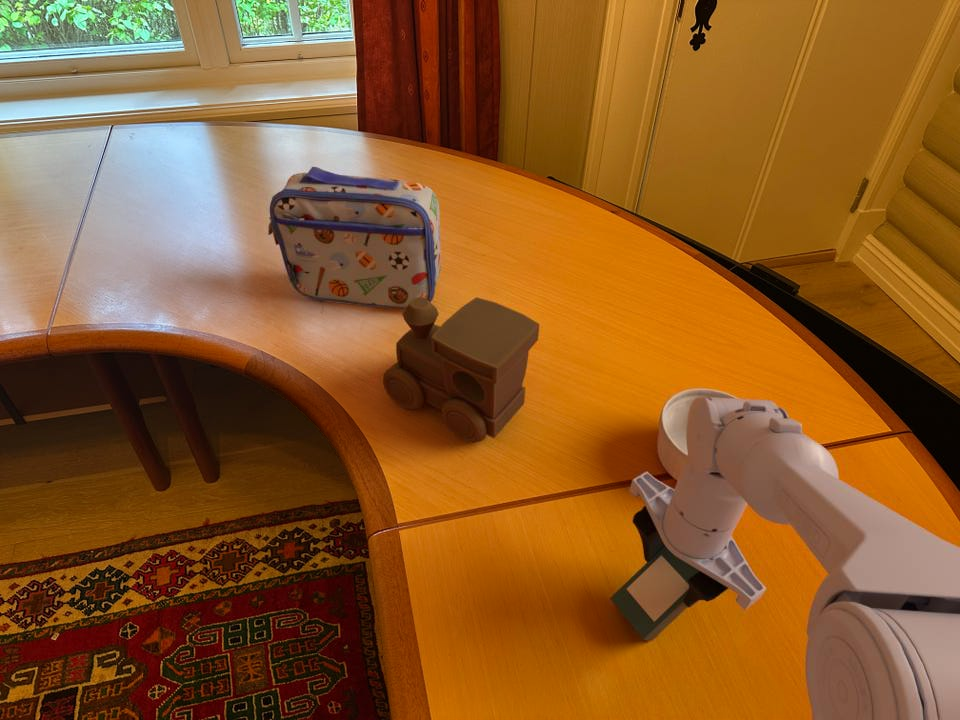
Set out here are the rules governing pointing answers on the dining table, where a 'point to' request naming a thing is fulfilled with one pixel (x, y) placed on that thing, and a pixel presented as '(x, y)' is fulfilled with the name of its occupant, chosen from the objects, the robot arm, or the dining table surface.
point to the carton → (655, 594)
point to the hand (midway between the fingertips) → (672, 578)
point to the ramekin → (679, 427)
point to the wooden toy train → (463, 365)
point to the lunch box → (358, 238)
